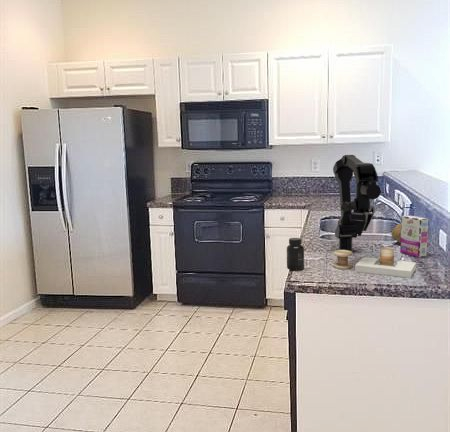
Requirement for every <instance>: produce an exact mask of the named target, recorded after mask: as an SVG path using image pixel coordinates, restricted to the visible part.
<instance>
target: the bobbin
mask: <svg viewBox="0 0 450 432" xmlns="http://www.w3.org/2000/svg"><path fill="white" fill-rule="evenodd" d="M333 255H334V256H335V257H337V261H335V262H334V263H333V268H335V269H337V270H349V269H352V267H353V264H352V263H351V262H349V257H352V256H353V251H352V252H351V251H348V250H337V249H336V250H334V251H333Z"/></svg>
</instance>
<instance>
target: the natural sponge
mask: <svg viewBox="0 0 450 432" xmlns="http://www.w3.org/2000/svg"><path fill="white" fill-rule="evenodd" d="M391 237H392V238H393V239H394V240H396V242H397V243H398V244H399V245H401V223H399V224H397V225H396V226H395V227H394V228H393V230H392V231H391Z"/></svg>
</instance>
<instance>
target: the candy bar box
mask: <svg viewBox="0 0 450 432" xmlns="http://www.w3.org/2000/svg"><path fill="white" fill-rule="evenodd" d="M400 224H401V244H399V245H400V249H399V252H400V253H401V254H404V255H408V256H412V257H415V258H418V259H419V258H427V257H428V246H429V243H428V242H429V229H430V228H429V224H430V219H429V218H427V217H421V216H417V215H410V214H409V215H406V214H405V215H401V223H400Z"/></svg>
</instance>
